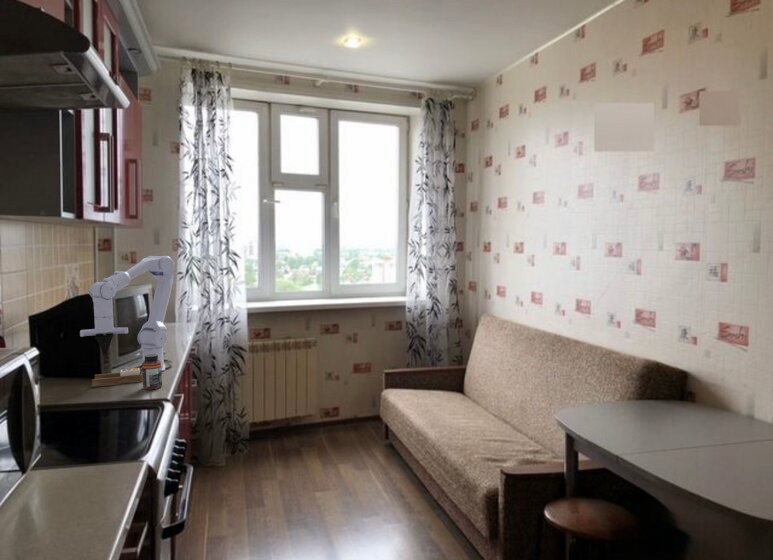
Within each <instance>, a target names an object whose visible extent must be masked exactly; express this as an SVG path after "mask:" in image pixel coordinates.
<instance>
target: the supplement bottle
mask: <svg viewBox="0 0 773 560" xmlns="http://www.w3.org/2000/svg"><path fill="white" fill-rule="evenodd" d="M141 371H142V376H143V381H142V388H143V389H144V390H146V389H147V391H151V390H152V389H153V390H158V389H160V388H162V387H163V376H162V372H163V371H162V370H161V361H160V360H158V355H157V354H148V355H145V361H144V362H143V361H142V363H141Z"/></svg>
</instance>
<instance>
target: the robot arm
mask: <svg viewBox="0 0 773 560" xmlns="http://www.w3.org/2000/svg"><path fill="white" fill-rule="evenodd" d="M175 266H176V264H175V262H174V261H173V259H172V257H170V256H168V255H164V256H163V255H162V256H161V255H160V256H159V255H157V256H155V255H148V256H147V257H145V258H142V259H141V261H139V262H138V263H136V264H134V265H133V266H131V267H130V268H129V269H127V270H125V271H122V270H116V271H114V272H113V274H112V275H110V276H109V277H104V278H102V281H96V282H94V283H93V284H92V285H91V287H90V290H88V295H89V296H90V297H91V298H92V302H93V313H94V314H93V315H94V328H92V329H81V330H80V331H79V336H80V337H81V338H82V337H87V336H91V337H92V336H95V340H96V341H97V343H98V345H99V346H100V350H101V352H102V356H103V357H104V356H105V357H106V356H108V355H109V350H110V346H111V343H112V341H113V337H114V335H117V334H118V335H119V334H120V335H121V334H129V327H128V326H127V327H126V326H125V327H123V326H121V327H114V325H115V323H114V307H113V304H114V303H113V298H115V297H116V294H117V293H118V292H119V291H121V290H123V289H124V288H126V287H128V286H129V285H130V284H131V280H133V279H135V278H136V277H139V276H141V275H142V274H144V273H146V272H147V273H149V274H150V275H151V276H152V277H153V278H155V280H156V282H157V283H156V287H155V293H154V295H153V299H152V303H151V308H150V312H149V316H148V321H145V323H144V324H142V327H141V329H140V330H139V332H138V333H137V342H138V343H139V345H140V348H142V363H143V362H144V361H145V355H148V354H157V355H158V360H160V361H161V370H162V372H164V371H166V364H165V363H164V362H165V361H164V359H165V358H164V347H165V345H166V344H167V341H168V328H167V326H166V325H165V323H164V322H165V319H166V313H167V310H168V305H169V301H170V298H171V293H172V288H173V285H174V279H175V278H174V276H175V275H174V271H175Z"/></svg>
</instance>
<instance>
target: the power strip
mask: <svg viewBox="0 0 773 560" xmlns="http://www.w3.org/2000/svg"><path fill="white" fill-rule="evenodd" d="M140 369H141V368H140V367H133V368H124V369H120V372H119V373H120V376H129V375H140V371H141V370H140Z"/></svg>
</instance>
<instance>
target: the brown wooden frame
mask: <svg viewBox="0 0 773 560" xmlns="http://www.w3.org/2000/svg"><path fill="white" fill-rule="evenodd" d="M140 381H142V382H143V376H142V370H140V375H129V376H120V372H112V373H111V372H110V373H101V374H94V378H93V379H91V387H92V388H97V387H107V386H115V385H122V384H129V383H130V384H131V383H139V382H140Z"/></svg>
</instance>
